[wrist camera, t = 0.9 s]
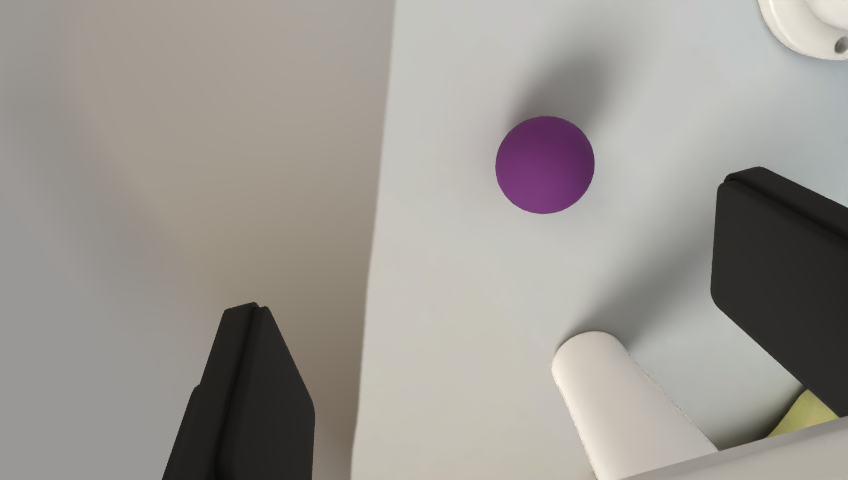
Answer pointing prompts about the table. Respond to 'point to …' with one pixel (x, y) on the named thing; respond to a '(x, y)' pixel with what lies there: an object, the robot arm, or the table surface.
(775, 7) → the robot arm
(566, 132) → the ball
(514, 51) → the table surface
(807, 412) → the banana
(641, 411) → the white cylinder
